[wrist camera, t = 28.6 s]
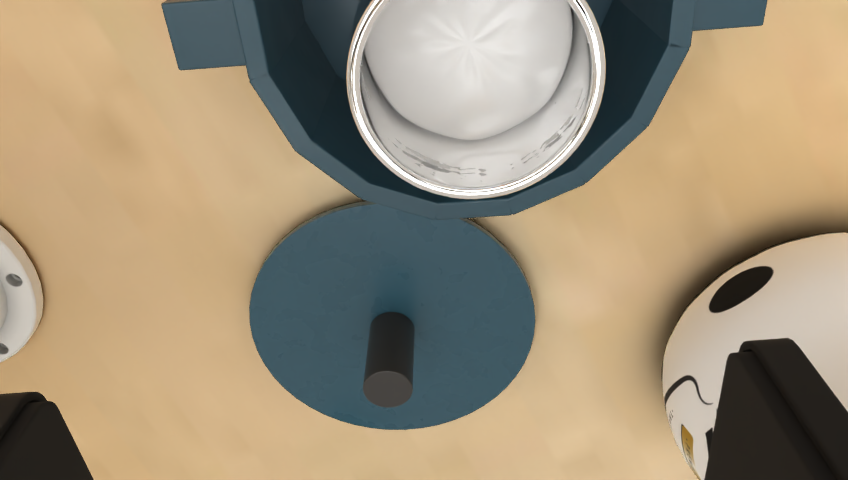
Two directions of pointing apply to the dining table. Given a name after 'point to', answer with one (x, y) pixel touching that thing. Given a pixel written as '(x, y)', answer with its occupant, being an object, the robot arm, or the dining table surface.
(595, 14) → the pot
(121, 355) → the dining table surface
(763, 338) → the milk container
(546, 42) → the beer glass
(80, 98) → the dining table surface
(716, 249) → the dining table surface
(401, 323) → the lid
